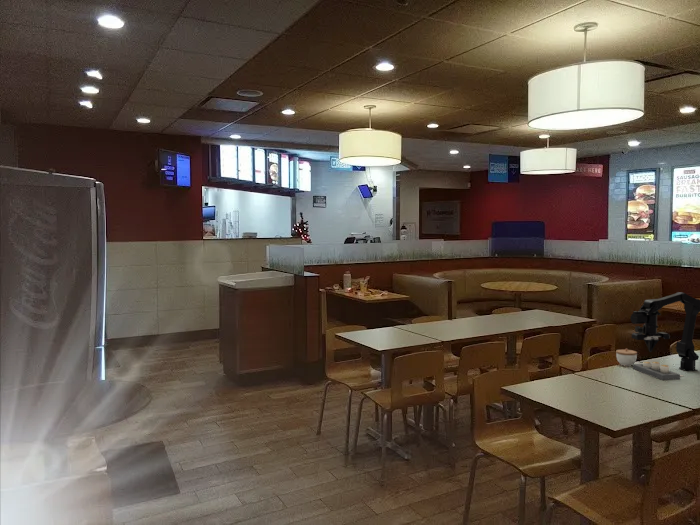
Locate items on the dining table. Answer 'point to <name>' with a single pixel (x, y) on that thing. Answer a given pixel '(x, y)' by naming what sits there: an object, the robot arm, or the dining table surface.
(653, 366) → the button
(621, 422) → the dining table surface
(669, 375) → the board
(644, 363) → the button
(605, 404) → the dining table surface
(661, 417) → the dining table surface
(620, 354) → the lidded jar
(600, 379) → the dining table surface
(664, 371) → the button
